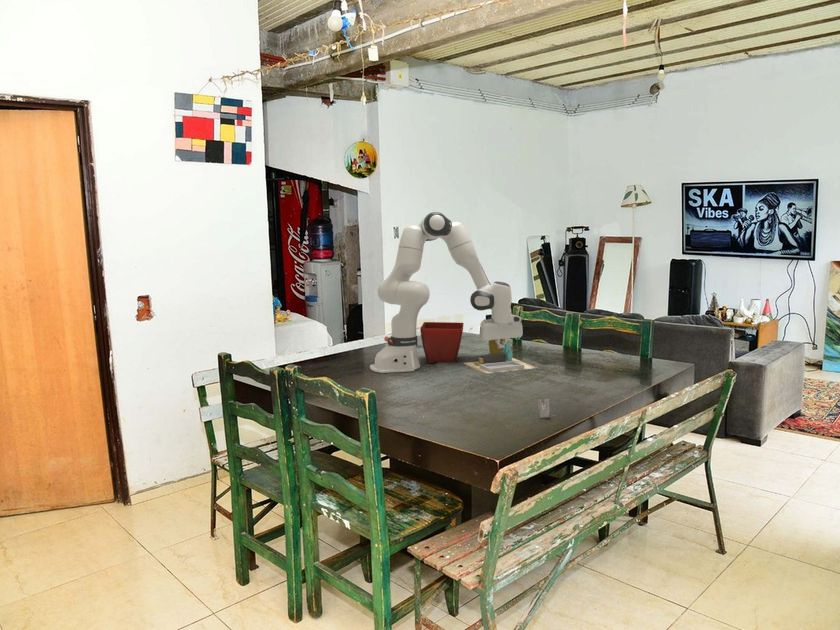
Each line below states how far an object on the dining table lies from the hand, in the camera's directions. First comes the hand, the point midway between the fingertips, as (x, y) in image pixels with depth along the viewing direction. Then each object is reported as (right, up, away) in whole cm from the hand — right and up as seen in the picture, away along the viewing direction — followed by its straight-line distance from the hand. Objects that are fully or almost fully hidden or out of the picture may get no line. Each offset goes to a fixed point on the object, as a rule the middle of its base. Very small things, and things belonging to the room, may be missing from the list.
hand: (501, 348), depth 302 cm
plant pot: (-26, -7, +12) cm, 29 cm away
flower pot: (+1, -5, +17) cm, 18 cm away
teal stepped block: (+3, -6, +2) cm, 7 cm away
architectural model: (+1, -20, -72) cm, 75 cm away
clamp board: (-1, -8, -4) cm, 9 cm away
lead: (-4, -7, -1) cm, 8 cm away
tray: (-1, -8, -10) cm, 13 cm away
